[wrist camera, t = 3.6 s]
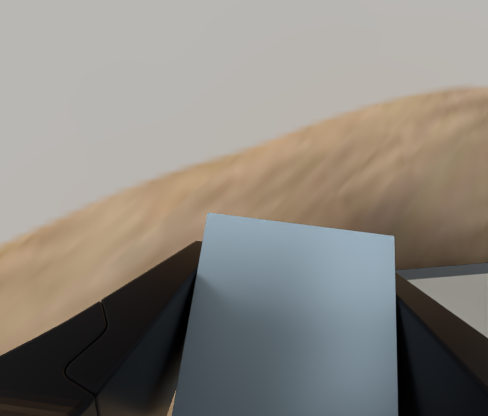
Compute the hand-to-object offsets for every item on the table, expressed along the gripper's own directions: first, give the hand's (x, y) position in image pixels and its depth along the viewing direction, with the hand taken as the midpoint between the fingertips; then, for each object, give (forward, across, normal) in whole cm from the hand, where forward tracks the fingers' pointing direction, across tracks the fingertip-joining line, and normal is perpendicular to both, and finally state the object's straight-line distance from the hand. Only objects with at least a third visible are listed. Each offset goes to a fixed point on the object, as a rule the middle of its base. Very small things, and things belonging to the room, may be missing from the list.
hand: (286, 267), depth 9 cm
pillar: (+4, 0, +6) cm, 8 cm away
